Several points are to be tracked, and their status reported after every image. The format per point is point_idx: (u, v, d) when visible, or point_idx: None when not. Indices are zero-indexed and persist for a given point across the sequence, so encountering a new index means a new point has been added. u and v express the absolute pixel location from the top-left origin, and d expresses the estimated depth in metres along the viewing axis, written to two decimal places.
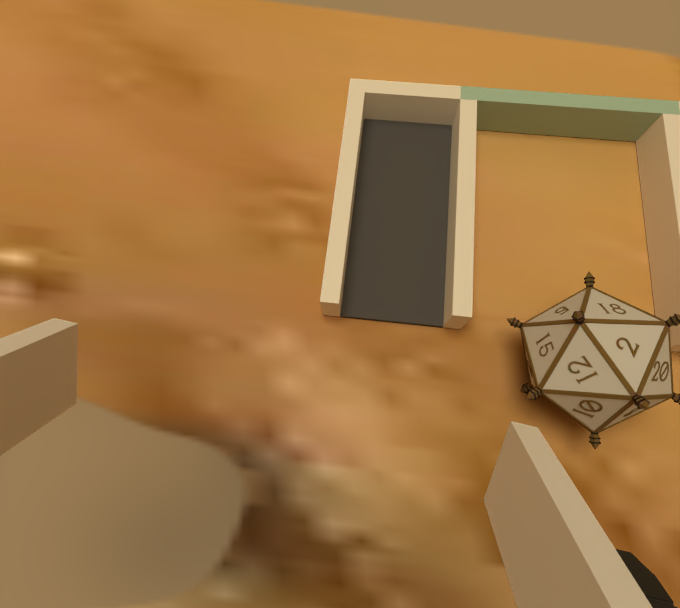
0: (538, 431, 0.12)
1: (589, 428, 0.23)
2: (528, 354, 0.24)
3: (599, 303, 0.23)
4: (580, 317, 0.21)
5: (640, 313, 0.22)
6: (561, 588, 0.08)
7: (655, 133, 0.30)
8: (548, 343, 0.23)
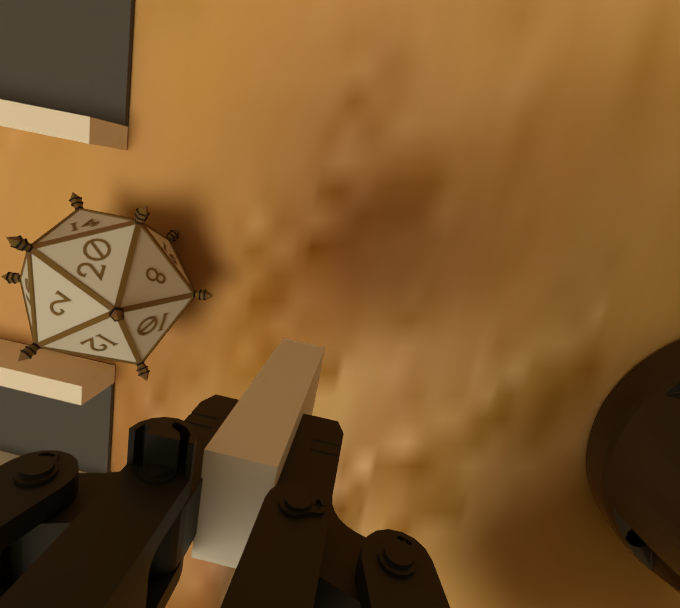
0: (322, 349, 0.14)
1: (188, 302, 0.21)
2: None
3: (26, 296, 0.19)
4: (26, 356, 0.18)
5: (26, 265, 0.18)
6: None
7: None
8: None
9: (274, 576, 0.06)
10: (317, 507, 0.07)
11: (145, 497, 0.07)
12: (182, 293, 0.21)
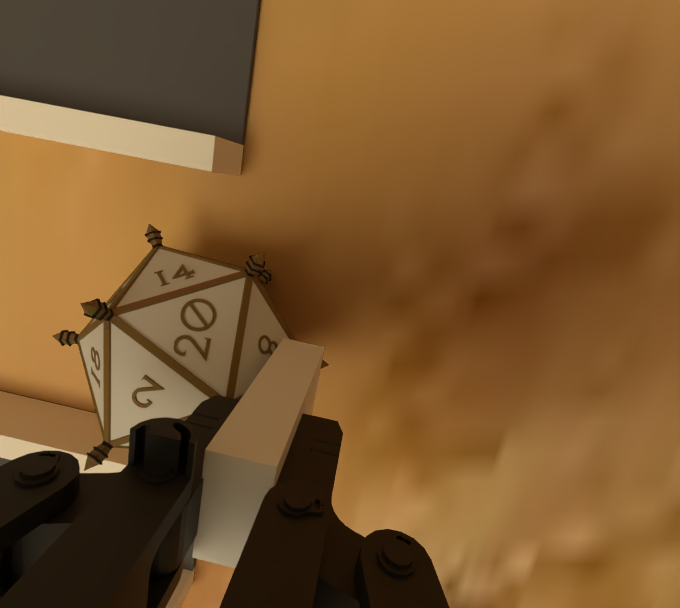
0: (322, 349, 0.14)
1: None
2: None
3: (91, 370, 0.14)
4: (95, 462, 0.13)
5: (98, 334, 0.13)
6: None
7: None
8: None
9: (273, 576, 0.06)
10: (316, 507, 0.07)
11: (146, 497, 0.07)
12: None
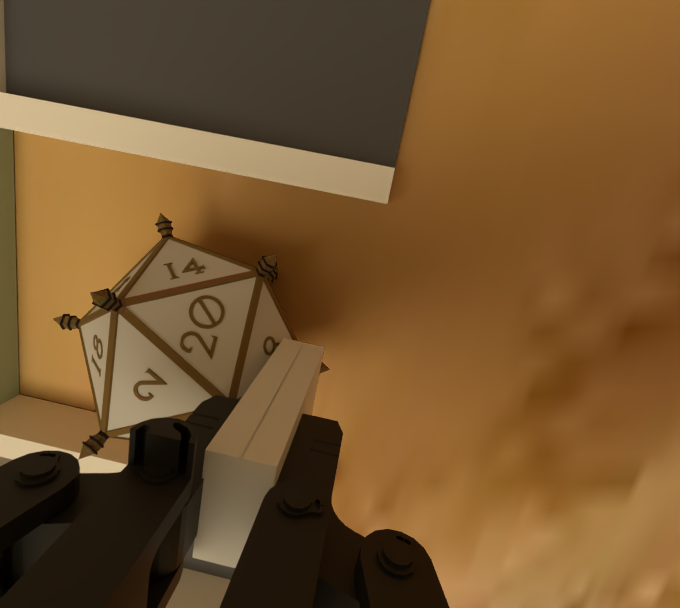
0: (321, 349, 0.14)
1: None
2: None
3: (92, 357, 0.14)
4: (90, 452, 0.13)
5: (103, 322, 0.13)
6: None
7: None
8: None
9: (273, 576, 0.06)
10: (316, 507, 0.07)
11: (146, 497, 0.07)
12: None
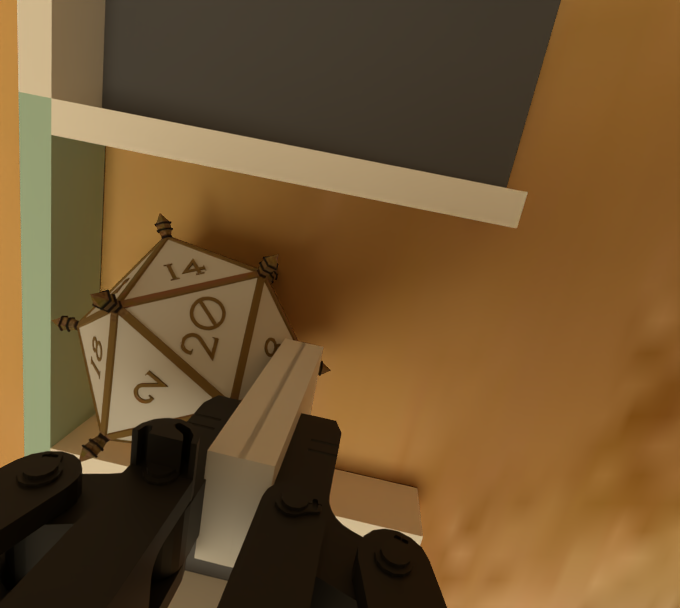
0: (320, 349, 0.14)
1: None
2: None
3: (91, 359, 0.14)
4: (90, 455, 0.12)
5: (103, 324, 0.12)
6: None
7: None
8: None
9: (271, 575, 0.06)
10: (314, 506, 0.07)
11: (148, 498, 0.07)
12: None
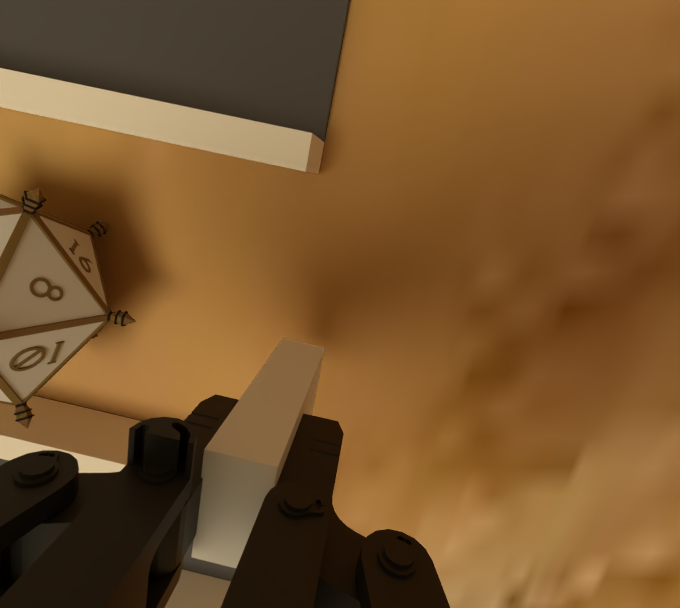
0: (322, 349, 0.14)
1: (98, 327, 0.15)
2: None
3: None
4: None
5: None
6: None
7: None
8: None
9: (274, 576, 0.06)
10: (317, 507, 0.07)
11: (145, 497, 0.07)
12: (89, 315, 0.15)
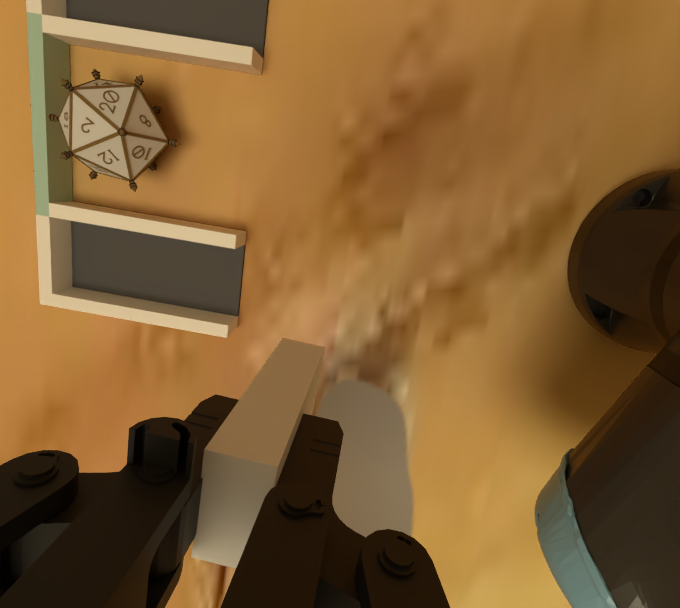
0: (322, 349, 0.14)
1: (164, 146, 0.34)
2: (111, 176, 0.34)
3: (64, 125, 0.31)
4: (65, 156, 0.30)
5: (67, 102, 0.30)
6: None
7: (62, 37, 0.33)
8: (97, 167, 0.33)
9: (274, 576, 0.06)
10: (317, 507, 0.07)
11: (145, 497, 0.07)
12: (161, 137, 0.33)
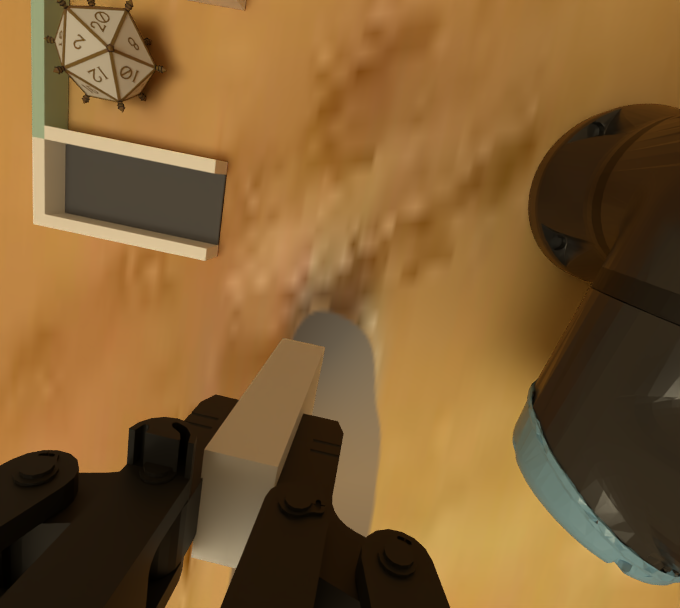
0: (322, 349, 0.14)
1: (151, 71, 0.36)
2: (102, 98, 0.37)
3: (59, 44, 0.34)
4: (57, 69, 0.33)
5: (62, 20, 0.33)
6: None
7: None
8: (88, 87, 0.35)
9: (274, 576, 0.06)
10: (317, 507, 0.07)
11: (145, 497, 0.07)
12: (148, 62, 0.36)
